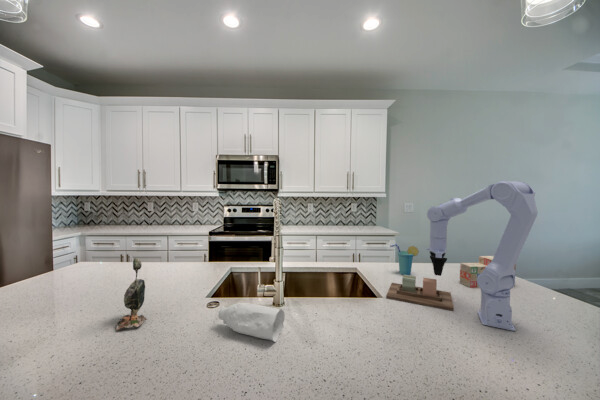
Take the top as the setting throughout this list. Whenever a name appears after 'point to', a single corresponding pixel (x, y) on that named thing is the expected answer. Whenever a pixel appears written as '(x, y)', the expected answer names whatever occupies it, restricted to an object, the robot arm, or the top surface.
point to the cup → (406, 259)
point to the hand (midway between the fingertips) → (437, 272)
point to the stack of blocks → (474, 271)
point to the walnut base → (419, 294)
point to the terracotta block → (429, 286)
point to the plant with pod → (133, 301)
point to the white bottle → (253, 320)
